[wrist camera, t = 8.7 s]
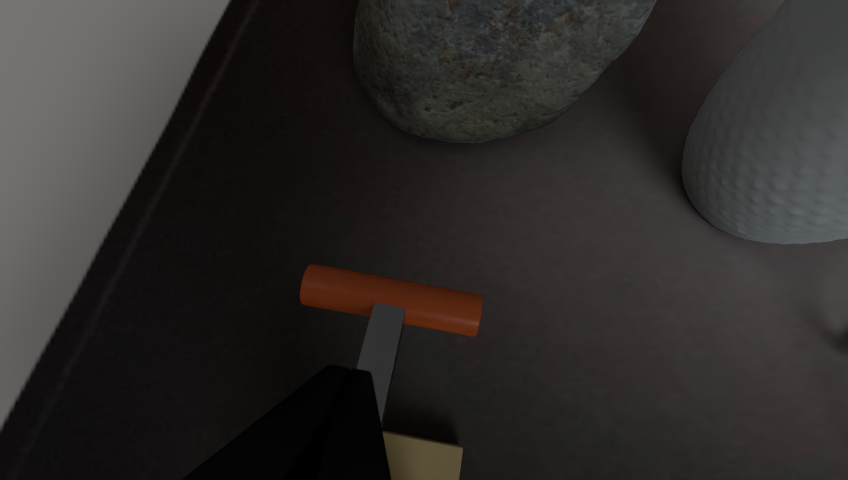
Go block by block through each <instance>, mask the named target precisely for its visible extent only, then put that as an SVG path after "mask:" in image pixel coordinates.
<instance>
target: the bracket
mask: <svg viewBox="0 0 848 480" xmlns="http://www.w3.org/2000/svg"><path fill="white" fill-rule="evenodd" d="M382 431H383V437H384V442H385V448H386V453H387V458H388V464H389V469H390V475H391V480H459V476H460V468H461V460H462V453H463V448H462V447H461V446H460V445H457V444H452V443H447V442H441V441H436V440H431V439H426V438H421V437H416V436H411V435H405V434H400V433H395V432H390V431H385V430H382Z"/></svg>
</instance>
